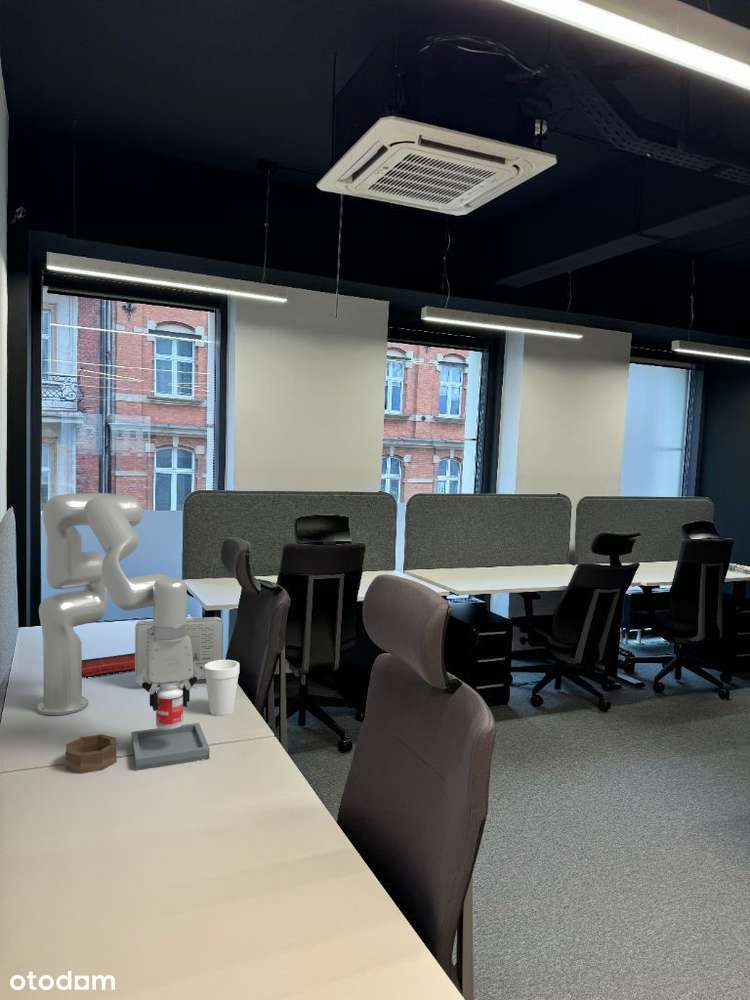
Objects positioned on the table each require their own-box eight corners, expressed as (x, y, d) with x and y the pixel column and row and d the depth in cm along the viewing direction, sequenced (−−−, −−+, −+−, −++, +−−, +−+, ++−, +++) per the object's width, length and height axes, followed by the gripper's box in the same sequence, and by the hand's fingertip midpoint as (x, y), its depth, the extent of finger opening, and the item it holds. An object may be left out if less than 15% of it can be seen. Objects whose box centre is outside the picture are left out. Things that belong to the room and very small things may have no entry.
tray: (131, 741, 160) (131, 731, 160) (198, 732, 166) (198, 722, 166) (135, 770, 145) (135, 759, 145) (209, 758, 152) (209, 748, 151)
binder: (74, 659, 217) (140, 651, 229) (74, 666, 217) (140, 658, 229) (83, 675, 204) (152, 665, 215) (83, 682, 204) (152, 672, 216)
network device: (220, 677, 209) (221, 615, 208) (223, 686, 201) (224, 621, 200) (135, 683, 201) (135, 619, 200) (134, 693, 193) (134, 626, 192)
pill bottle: (150, 725, 155) (150, 679, 154) (173, 718, 160) (173, 673, 159) (165, 733, 151) (165, 685, 150) (188, 725, 156) (188, 679, 155)
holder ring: (66, 755, 152) (66, 738, 151) (115, 748, 156) (115, 732, 155) (65, 775, 142) (65, 757, 142) (117, 767, 146) (117, 750, 146)
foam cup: (230, 719, 175) (230, 671, 174) (198, 716, 177) (198, 668, 176) (244, 706, 184) (244, 661, 183) (213, 703, 186) (213, 658, 185)
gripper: (131, 639, 147) (131, 717, 148) (210, 632, 154) (209, 707, 155) (129, 631, 154) (129, 706, 155) (204, 625, 161) (204, 697, 162)
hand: (169, 706), depth 155 cm, fingers closed on pill bottle, 6 cm apart
